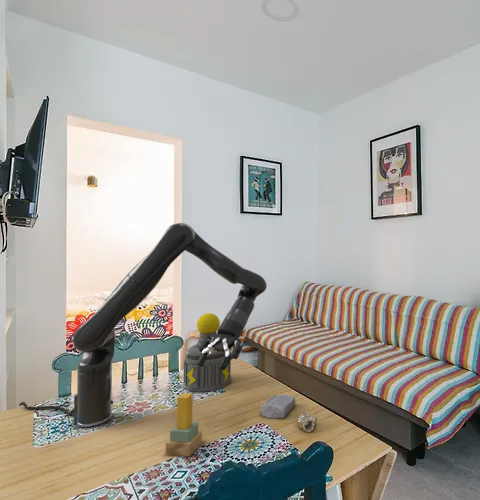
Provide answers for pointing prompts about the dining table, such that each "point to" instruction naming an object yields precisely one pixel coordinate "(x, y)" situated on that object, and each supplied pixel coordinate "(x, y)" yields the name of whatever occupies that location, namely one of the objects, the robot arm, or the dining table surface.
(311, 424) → the ornament
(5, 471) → the dining table surface
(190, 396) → the bar
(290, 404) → the stone block
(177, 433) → the block
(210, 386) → the decorative lamp
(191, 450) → the tower base
